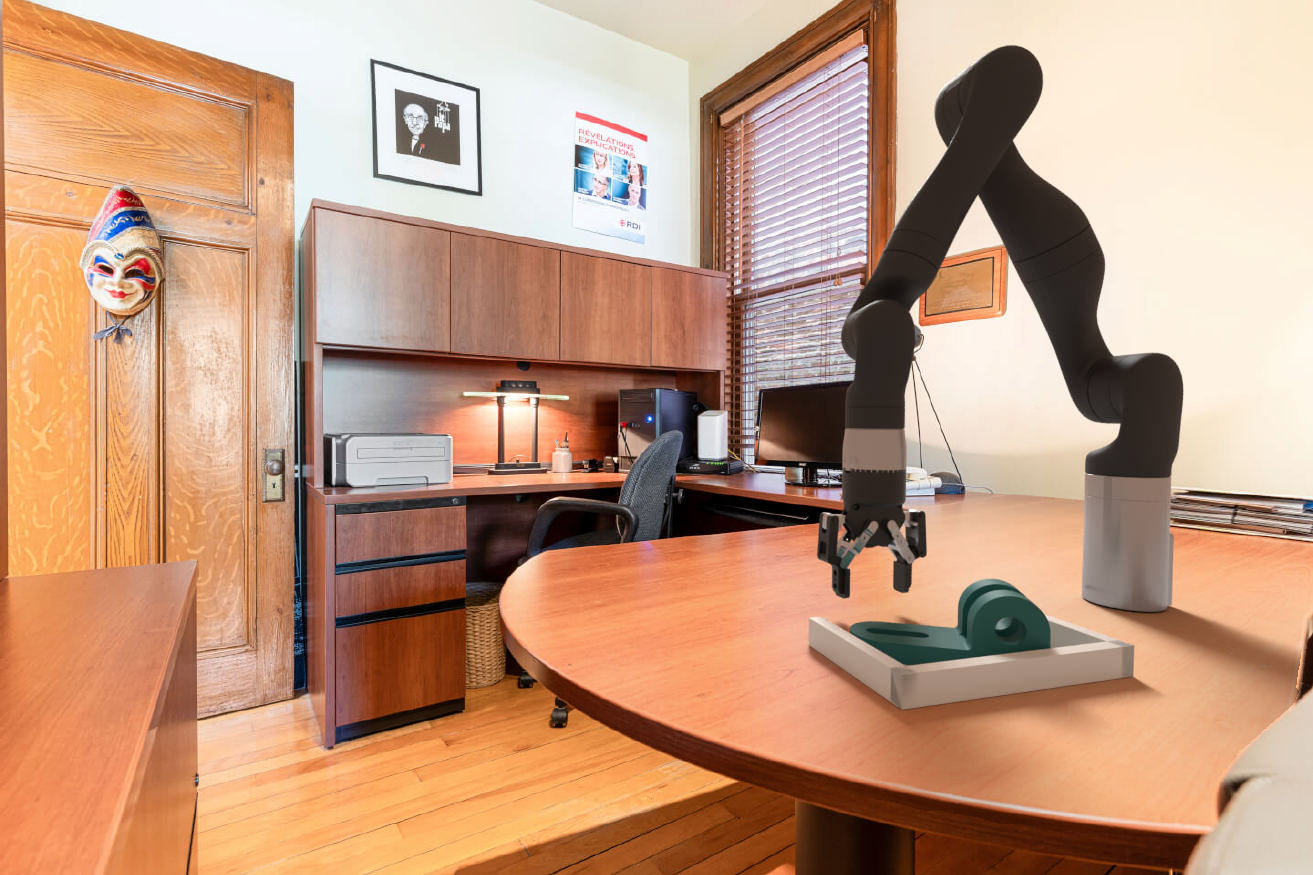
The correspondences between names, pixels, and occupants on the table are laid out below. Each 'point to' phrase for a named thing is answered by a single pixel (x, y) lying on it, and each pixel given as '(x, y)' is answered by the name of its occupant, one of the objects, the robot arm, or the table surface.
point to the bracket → (965, 628)
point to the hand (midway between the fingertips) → (871, 594)
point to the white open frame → (978, 666)
